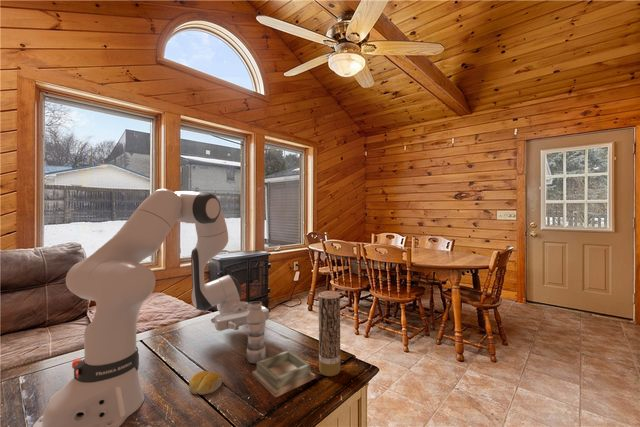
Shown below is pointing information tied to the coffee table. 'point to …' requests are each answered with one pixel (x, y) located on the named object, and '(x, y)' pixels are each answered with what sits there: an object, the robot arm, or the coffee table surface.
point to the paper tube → (329, 333)
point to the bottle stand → (283, 373)
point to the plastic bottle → (256, 333)
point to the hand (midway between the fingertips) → (249, 324)
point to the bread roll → (205, 382)
